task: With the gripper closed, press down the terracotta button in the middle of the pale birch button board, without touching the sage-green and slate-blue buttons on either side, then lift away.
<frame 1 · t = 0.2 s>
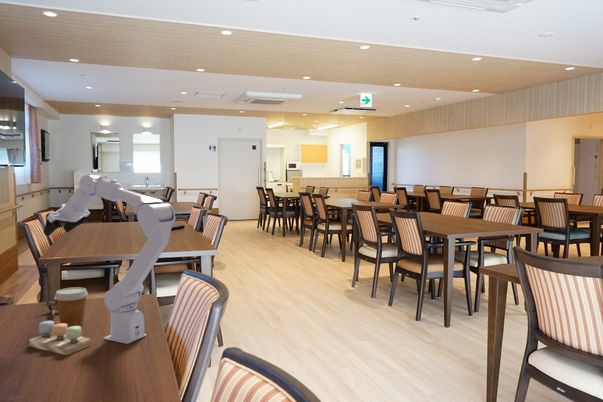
hand: (56, 231, 147), 31 cm above the table, tool tilted 45°, fingers open, 7 cm apart
disposable coffee cup: (71, 327, 147), on the table
slate button: (46, 329, 132), point 4 cm above the table, slide at 0.0 cm
button board: (60, 345, 130), on the table
sage button: (73, 335, 128), point 4 cm above the table, slide at 0.0 cm
terracotta button: (60, 332, 130), point 4 cm above the table, slide at 0.0 cm
eagle figurine: (58, 314, 161), on the table
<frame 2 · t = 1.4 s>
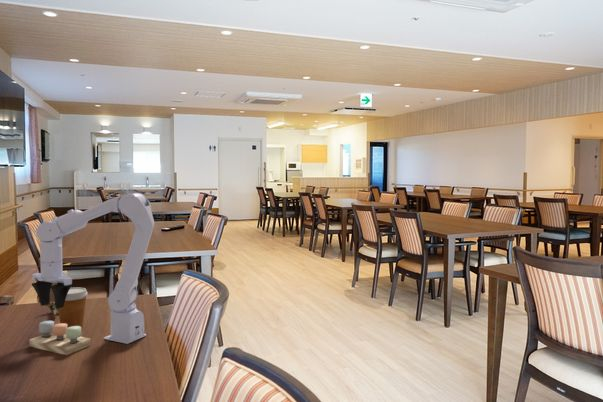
hand: (52, 306, 135), 10 cm above the table, tool pointing down, fingers open, 6 cm apart
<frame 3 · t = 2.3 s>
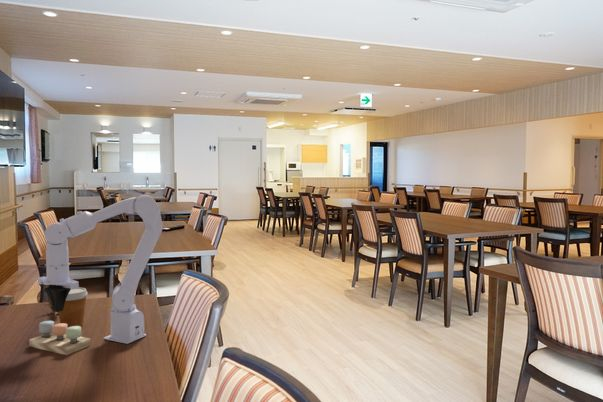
hand: (58, 311, 131), 10 cm above the table, tool pointing down, fingers closed
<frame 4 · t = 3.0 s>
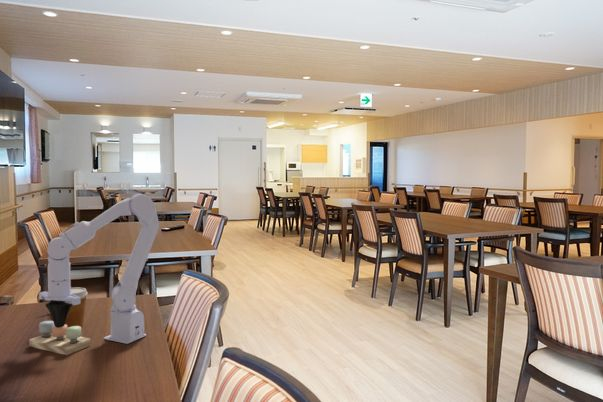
hand: (59, 326, 130), 6 cm above the table, tool pointing down, fingers closed, pressing on terracotta button
terracotta button: (60, 333, 130), point 4 cm above the table, slide at 0.3 cm, touching gripper
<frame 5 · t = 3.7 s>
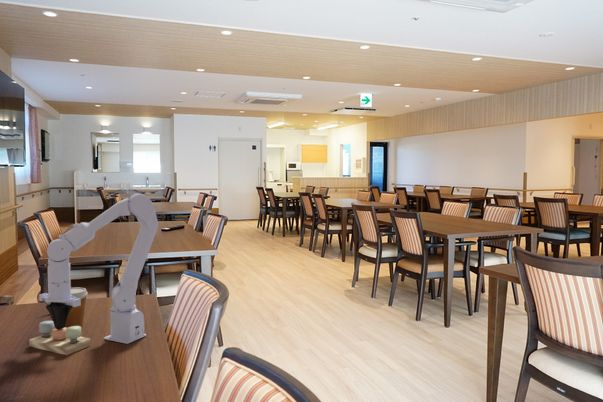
hand: (60, 328, 130), 5 cm above the table, tool pointing down, fingers closed
terracotta button: (60, 336, 130), point 3 cm above the table, slide at 1.1 cm
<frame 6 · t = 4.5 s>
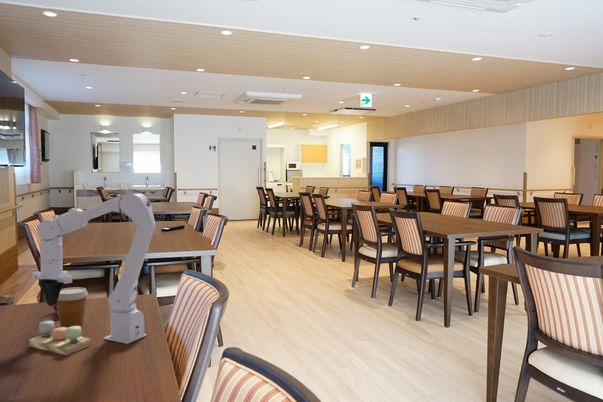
hand: (52, 304, 135), 10 cm above the table, tool pointing down, fingers closed
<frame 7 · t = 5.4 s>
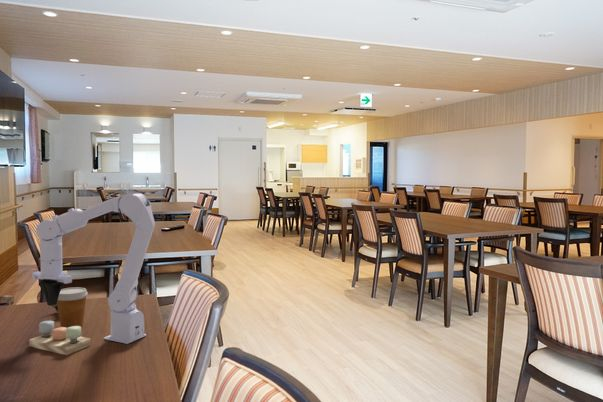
hand: (52, 304, 135), 10 cm above the table, tool pointing down, fingers closed
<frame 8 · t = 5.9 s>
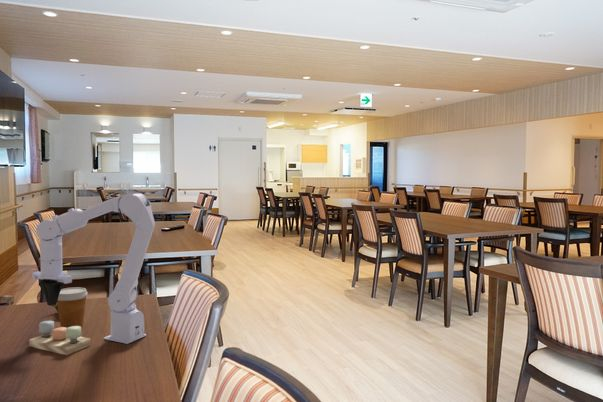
hand: (52, 304, 135), 10 cm above the table, tool pointing down, fingers closed
at the end: terracotta button slide at 1.1 cm; sage button slide at 0.0 cm; slate button slide at 0.0 cm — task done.
